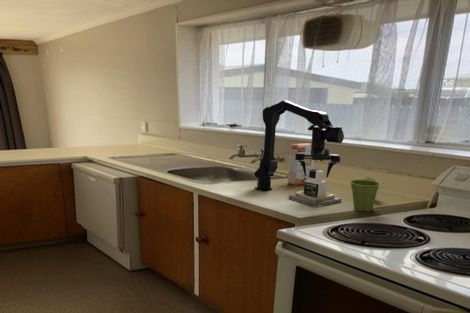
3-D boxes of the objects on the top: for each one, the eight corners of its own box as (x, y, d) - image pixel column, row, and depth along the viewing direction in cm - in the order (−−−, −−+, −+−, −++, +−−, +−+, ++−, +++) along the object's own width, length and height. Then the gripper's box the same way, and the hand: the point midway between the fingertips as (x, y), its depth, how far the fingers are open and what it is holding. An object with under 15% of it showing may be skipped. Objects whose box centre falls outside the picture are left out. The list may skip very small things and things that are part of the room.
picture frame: (288, 198, 173) (289, 191, 173) (314, 194, 182) (314, 187, 182) (315, 207, 160) (315, 199, 160) (341, 202, 169) (341, 195, 169)
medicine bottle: (303, 196, 171) (304, 169, 169) (312, 194, 176) (313, 167, 174) (317, 199, 166) (319, 172, 164) (326, 197, 171) (327, 170, 169)
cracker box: (296, 185, 199) (298, 145, 196) (287, 183, 204) (289, 143, 201) (313, 182, 208) (316, 143, 205) (305, 180, 213) (307, 142, 210)
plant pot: (353, 203, 167) (355, 178, 165) (381, 209, 160) (384, 182, 159) (343, 209, 157) (345, 182, 156) (373, 215, 151) (375, 187, 149)
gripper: (296, 142, 161) (294, 179, 163) (342, 144, 158) (339, 182, 160) (296, 139, 172) (294, 174, 174) (340, 141, 169) (337, 176, 171)
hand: (316, 176), depth 170 cm, fingers open, 9 cm apart
